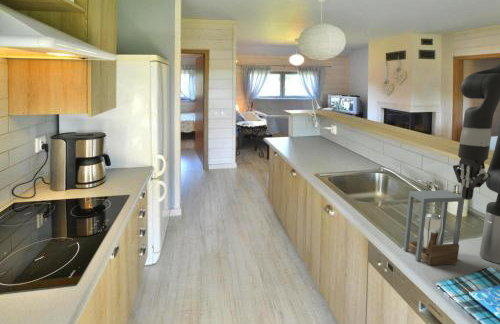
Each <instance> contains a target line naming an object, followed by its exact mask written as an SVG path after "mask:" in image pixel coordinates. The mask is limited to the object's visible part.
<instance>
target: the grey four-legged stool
mask: <svg viewBox="0 0 500 324" xmlns="http://www.w3.org/2000/svg"><path fill="white" fill-rule="evenodd" d="M415 199H416V200H418V201H420V202H421V204H420V215H419V224H418V230H417V247H416V248H417V250H416V254H415V261H416V262H421V261H422V259H421V253H422V244H423V235H424V226H425V217H426V213H427V205H428V204H429V203H442V204H441V213H440V216H442V217H443V227H442V233H441V237H440V240H439V243H438V245H439V244H444V236H445V230H446V222H447V221H446V219H447V213H448V204H449V203H454V202H455V203H456V202H457V208H456V218H455V225H454V232H453V241H452V244H458V245H459V243H460V235H461V226H462V218H463V212H464V207H465V206H464V205H465V203H464V202H465V199H464V198H462V195H460V194H457V193H455V192H452V191H450V190H448V189H445V190H444V189H439V190H438V189H437V190H436V189H435V190H409V191H408V200H407V201H408V203H407V212H406V222H405V223H406V224H405V233H404V243H403V251H404V252H409V250H410V249H409V242H410V241H411V240H410V237H411V230H412V229H411V228H412V227H411V226H412V218H413V207H414V200H415Z"/></svg>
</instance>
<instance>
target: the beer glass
mask: <svg viewBox="0 0 500 324" xmlns="http://www.w3.org/2000/svg"><path fill="white" fill-rule="evenodd" d="M442 227H443V217H442V216H441V214H440V215H439V214H436V213H429V212H428V213H427V212H426V217H425V226H424V235H423V244H422V252H423V253H429V247H430V245H438V243H439V240H440V237H441V233H442Z"/></svg>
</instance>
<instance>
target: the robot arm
mask: <svg viewBox="0 0 500 324" xmlns="http://www.w3.org/2000/svg"><path fill="white" fill-rule="evenodd" d="M460 92H461V95H462V96H463V97H465V98H467V99H472V100H474V99H475V100H478V99H479V100H482V99H483V101H482V102H481V104H480V105H478V106H472V107H471V106H470V107H468V108H466V109H465V111H464V115H463V121H462V122H463V123H462V129H461V132H460V139H459V146H458V154H457V157H458V158H459V163H458V164H454V165H453V166H452V168H453V172H454V174H455V178H456V180H457V182H458V183H459V184H461V186H462V189H461V196H462V198H464V200H472V198H473V196H474V190H475V188H480V187H482V186H483V185H484V183H485V186H486V188H488V189H489V190H490V191H491V192H494V193H496V194H497V196H496V200H495V201H491V202H488V203H486V208H485V213H484V223H483V228H482V229H483V230H482V235H481V243H480V251H479V256H480V257H481V258H482V259H484V260H486V261H487V262H488V261H489V262H492V263H495V264H500V126H499V128H498V134H497V138H496V142H495V146H494V150H493V155H492V156H491V160H490V163H489V166H488V169H487V171H486V170H485V168H486V165H485V161H488V159H489V153H490V147H491V141H492V140H491V139H492V127H493V120H494V115H495V112H496V109H497V107H498V105H499V102H500V63H499V64H497V65H495V66H493V67H491V68H489V69H484V70H480V71H477V72H473V73H471V74H469V75H467V76H466V77H465V78H464V79H463V80H462V82H461V84H460Z"/></svg>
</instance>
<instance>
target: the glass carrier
mask: <svg viewBox="0 0 500 324" xmlns="http://www.w3.org/2000/svg"><path fill="white" fill-rule="evenodd" d="M417 241H418V240H417ZM417 241H416V240H415V241H413V240H412V241H409V249H408V250H410V252H411V251H412V253H414V254H415V255H416V250H417ZM459 251H460V244H459V243H458V244H453V243H443V244H439V245H430V247H429V253H423V252H422V253H421V260H423V261H424V262H425V263H427V264H428V265H429V266H437V265H454V264H455V265H457V264H458V259H459V258H458V257H459Z"/></svg>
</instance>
